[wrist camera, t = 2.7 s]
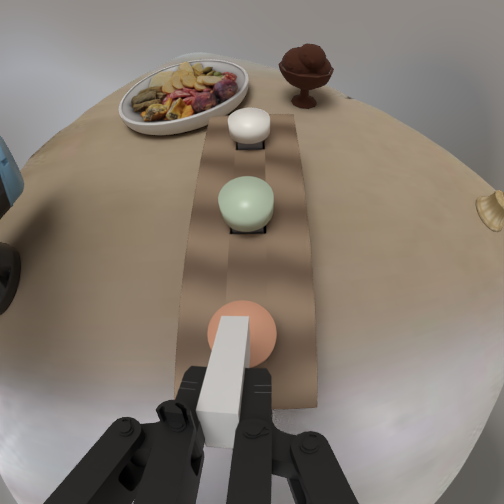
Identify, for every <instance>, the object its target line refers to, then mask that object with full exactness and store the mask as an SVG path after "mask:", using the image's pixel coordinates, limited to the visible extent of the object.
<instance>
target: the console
mask: <svg viewBox="0 0 504 504" xmlns="http://www.w3.org/2000/svg"><path fill="white" fill-rule="evenodd" d="M269 116H270V134H269V136H268V137H267V138H266V139H265V140H263V141H262V142H263V150H238V143H237V142H236V141H234V140H233V139H232V138H231V136H230V133H229V126H228V117H229V116H217V117H210V118H209V123H208V127H207V132H206V137H205V142H204V147H203V152H202V157H201V162H200V167H199V172H198V178H197V184H196V189H195V195H194V201H193V207H192V214H191V220H190V227H189V234H188V241H187V248H186V256H185V264H184V272H183V281H182V290H181V300H180V310H179V321H178V333H177V347H176V363H175V384H174V400H175V398H176V395H177V392H178V390H179V387H180V384H181V382H182V378H183V375H184V373H185V372H186V371H187V370H188V368H189V367H190V366H202V367H208V363H209V359H210V356H211V352H212V350H211V348H210V346H209V342H208V337H207V332H208V326H209V323H210V320H211V318H212V317H213V315H214V314H215V313H216V312H217V311H218V310H219V309H220V308H221V307H222V306H224V305H226V304H228V303H230V302H234V301H240V300H244V301H251V302H254V303H257V304H259V305H261V306H262V307H264V308H265V309H266V310H267V311H268V312H269V313H270V315H271V316H272V318H273V320H274V322H275V325H276V331H277V336H276V342H275V346H274V349H273V351H272V353H271V354H270V356H269V357H268V358H267V361H264V362H263V363H261V364H259V365H257V366H255V367H252V368H267V369H268V371H269V373H270V374H271V376H272V409H299V408H315V407H317V347H316V321H315V301H314V285H313V271H312V259H311V247H310V236H309V226H308V216H307V207H306V199H305V190H304V182H303V175H302V167H301V160H300V153H299V146H298V140H297V133H296V127H295V121H294V115H293V114H269ZM243 176H252V177H257V178H260V179H262V180H264V181H265V182H266V183H268V184H269V186H270V187H271V189H272V191H273V195H274V205H273V215H272V218H271V219H270V221H269V222H268V223H267V224H266V234H232V228H231V227H229V226H228V225H227V224H226V223H225V222H224V220H223V218H222V214H221V211H220V207H219V203H218V196H219V193H220V191H221V189H222V188H223V186H224V185H225V184H226V183H228V182H229V181H231V180H233V179H235V178H238V177H243Z"/></svg>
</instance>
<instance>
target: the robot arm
mask: <svg viewBox="0 0 504 504" xmlns="http://www.w3.org/2000/svg"><path fill="white" fill-rule="evenodd" d="M23 189H24V181H23V177H22V175H21V172H20V170H19V168H18V166H17V164H16V162H15V160H14V158H13V156H12V154H11V152H10V150H9V148H8V147H7V145H6V143H5V142H4V140H3V139H2V137H1V136H0V219H1V218H2V217H3V216H4V214H5V213H6V212H7V211H8V210H9V209H10V208H11V207H12V206H13V203H14V202H15V201H16V200H17V199H18V197H19V196H20V195H21V194H22V192H23ZM19 276H20V257H19V254H18V252H17V251H16V250H15V249H14V248H13V247H11V246H10V245H9V244H6V243H2V242H0V314H1V313H3V312H4V311H5V310H6V309H7V307H8V306H9V304H10V303H11V301H12V299H13V297H14V294H15V292H16V289H17V285H18V281H19ZM249 365H250V328H249V316H221V319H220V323H219V326H218V330H217V334H216V337H215V341H214V345H213V348H212V352H211V356H210V359H209V363H208V367H202V366H190V367H189V368H188V370H187V371H186V372H185V373H184V375H183V378H182V382H181V384H180V387H179V390H178V392H177V395H176V398H175V400H168V401H165V402H163V403H161V404H160V405H159V406H158V407H157V409H156V412H157V414H158V416H159V419H160V421H159V422H156V423H146V424H140V423H139V422H138V421H137V420H136V419H134V418H131V417H122V418H119V419H117V420H116V421H115V422H113V423H112V425H111V426H110V427H109V428H108V429H107V430H106V432H105V433H104V434H103V435H102V436H101V437H100V439H99V440H98V441H97V442H96V443H95V444H94V446H93V447H92V448H91V449H90V450H89V451H88V453H87V454H86V455H85V456H84V457H83V458H82V460H81V461H80V462H79V463H78V464H77V465H76V466H75V468H74V469H73V470H72V471H71V472H70V473H69V475H68V476H67V477H66V478H65V479H64V480H63V482H62V483H61V484H60V485H59V486H58V487H57V488H56V490H55V491H54V492H53V493H52V494H51V495H50V497H49V498H48V499H47V500H46V501H45V502H44V503H43V504H132V502H133V501H134V499H135V501H134V504H196V498H197V493H198V488H199V483H200V477H201V472H202V467H203V462H204V451H203V447H204V443H205V444H206V446H209V447H219V448H232V449H233V454H232V462H231V470H230V478H229V486H228V494H227V502H226V504H271V476H272V474H273V475H277V476H281V477H285V478H287V481H288V484H289V486H290V489H291V492H292V495H293V498H294V501H295V504H359V503H358V501H357V499H356V497H355V495H354V493H353V491H352V489H351V487H350V485H349V483H348V481H347V479H346V477H345V475H344V473H343V471H342V469H341V467H340V465H339V463H338V461H337V459H336V457H335V455H334V453H333V451H332V449H331V447H330V445H329V443H328V441H327V439H326V438H325V437H324V436H323V435H321V434H320V433H317V432H312V431H309V432H303V433H300V434H298V435H297V436H296V435H292V434H288V433H285V432H282V431H280V430H279V429H277V428H276V427H275V426H274V424H273V422H272V376H271V374H270V373H269V371H268V369H267V368H249Z"/></svg>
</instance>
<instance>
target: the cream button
mask: <svg viewBox="0 0 504 504" xmlns="http://www.w3.org/2000/svg"><path fill="white" fill-rule="evenodd" d="M228 126H229V133H230V136H231V138H232V139H233V140H234V141H236V142H237V143H238V150H263V142H262V141H263V140H265V139H266V138H267V137H268V136H269V134H270V116H269V114H268V113H267V112H266V111H264V110H262V109H258V108H243V109H239V110H237V111H235V112H233V113H232V114H231V115H230V116H229V117H228Z"/></svg>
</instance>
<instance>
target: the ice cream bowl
mask: <svg viewBox="0 0 504 504" xmlns="http://www.w3.org/2000/svg"><path fill="white" fill-rule="evenodd" d="M279 68H280V71H281V73H282V75H283V76H284V78H285V79H286V80H287V81H288V82H289V83H290V84H291V85H293V86H295V87H297V88H300V89H301V93H300V94H299V95H296V96H294V97H293V99H292V100H291V102H292V103H293V105H295V106H297V107H299V108H307V109H309V108H312V107H315V105H316V101H315V99H314V98H313V97H311V96H309V90H312V89H315V88H319V87H322V86H324V85H326V84H327V82H328V81H329V79H330V77H331V75H332V73H333V70H334V69H333V68H332V67H331V64H330V62H329V61H328V60H327V59H326V55H325V53H324V51H323V50H322V49H321V47H320V46H317V45H314V44H305V45H303V46H302V47H297V48H292V49H290V50H289V51H288V52H287V53H286V54H285V55H284V57H283V59H282V61H281V62H280V63H279Z"/></svg>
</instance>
